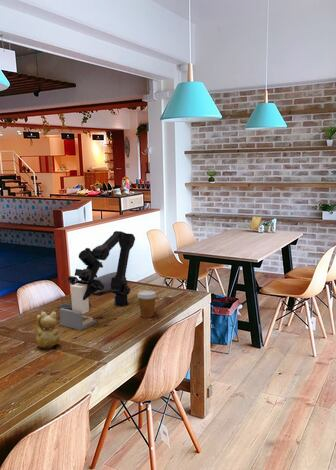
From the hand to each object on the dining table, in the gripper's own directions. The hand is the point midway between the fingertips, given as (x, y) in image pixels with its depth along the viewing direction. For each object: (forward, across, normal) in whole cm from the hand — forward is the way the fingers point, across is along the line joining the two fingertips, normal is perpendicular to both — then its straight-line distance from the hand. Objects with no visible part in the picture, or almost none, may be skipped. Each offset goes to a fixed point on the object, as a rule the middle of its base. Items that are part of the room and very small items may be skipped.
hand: (78, 298), depth 199 cm
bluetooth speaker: (-27, -22, +47) cm, 59 cm away
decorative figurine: (+27, +3, -8) cm, 28 cm away
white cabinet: (+4, 0, +6) cm, 7 cm away
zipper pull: (-1, -16, +20) cm, 26 cm away
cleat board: (+8, -2, +11) cm, 14 cm away
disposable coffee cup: (-9, +22, +28) cm, 37 cm away
